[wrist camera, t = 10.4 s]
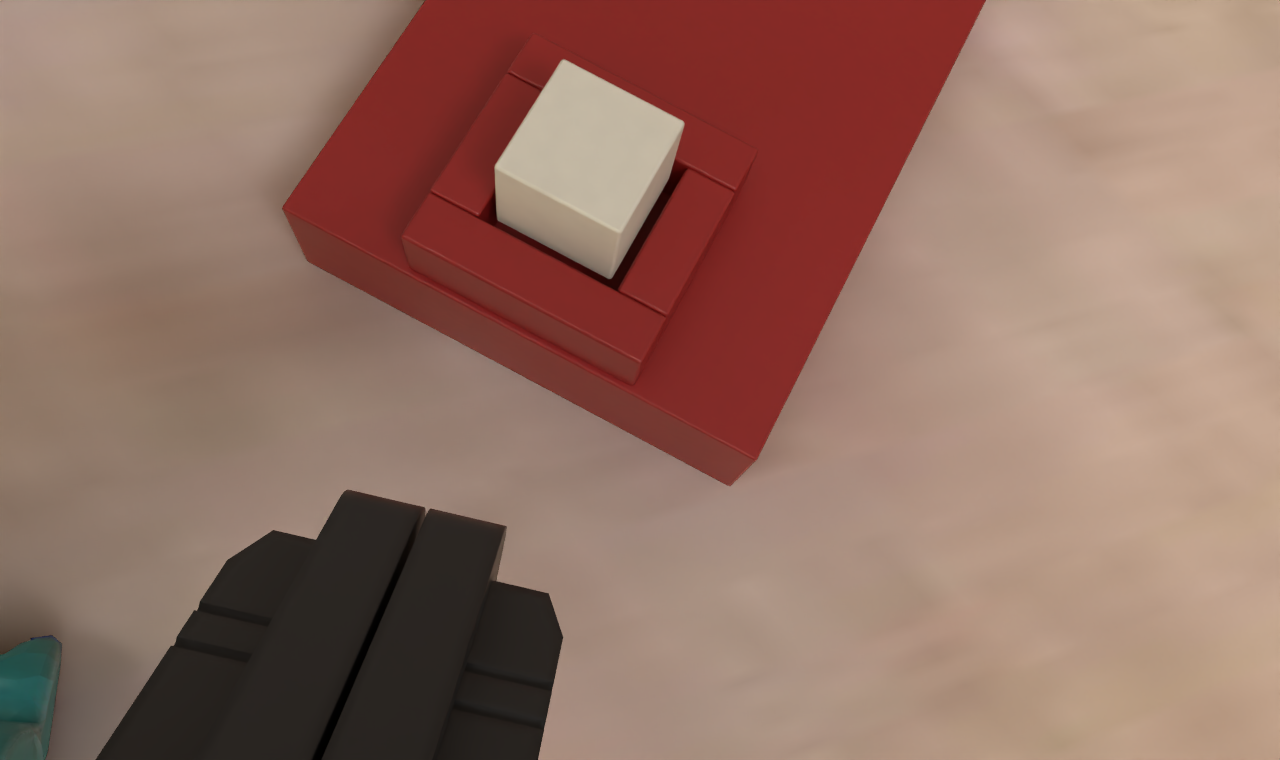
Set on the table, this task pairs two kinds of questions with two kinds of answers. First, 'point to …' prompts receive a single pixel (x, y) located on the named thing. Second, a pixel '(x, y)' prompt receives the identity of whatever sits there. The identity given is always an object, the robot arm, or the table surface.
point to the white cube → (585, 168)
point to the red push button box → (681, 217)
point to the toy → (28, 698)
